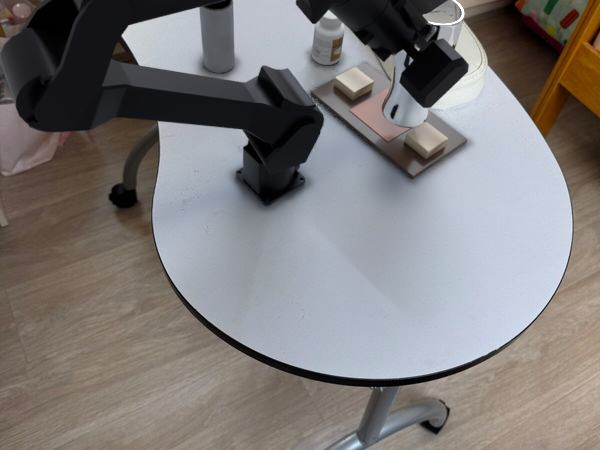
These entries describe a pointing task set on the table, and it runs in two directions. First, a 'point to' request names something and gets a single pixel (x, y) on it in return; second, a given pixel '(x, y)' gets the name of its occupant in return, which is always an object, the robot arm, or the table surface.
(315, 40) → the pill bottle
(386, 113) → the silver metal cup
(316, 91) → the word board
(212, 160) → the table surface
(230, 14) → the light grey cylinder
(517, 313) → the table surface
